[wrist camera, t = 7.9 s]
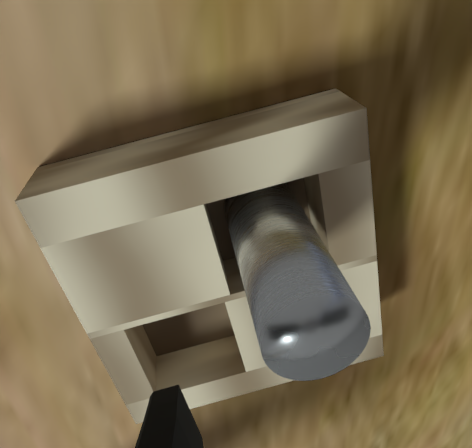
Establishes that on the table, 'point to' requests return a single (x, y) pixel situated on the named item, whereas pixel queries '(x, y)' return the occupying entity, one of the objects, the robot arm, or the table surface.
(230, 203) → the pin
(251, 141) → the socket block
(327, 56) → the table surface
